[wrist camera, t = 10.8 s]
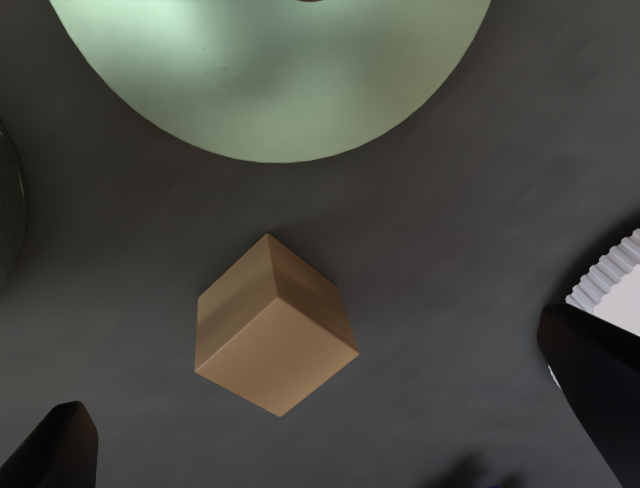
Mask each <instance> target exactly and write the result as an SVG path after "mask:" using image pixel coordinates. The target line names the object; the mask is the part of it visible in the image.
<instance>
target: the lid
mask: <svg viewBox="0 0 640 488" xmlns="http://www.w3.org/2000/svg"><path fill="white" fill-rule="evenodd" d="M49 2H50V4H51V6H52V8H53V9H54V11H55V13H56V15H57V17H58V18H59V20H60V22H61V24H62V26H63V27H64V29H65V31H66V33H67V35H68V36H69V38H70V39H71V40H72V42H73V43H74V45H75V46H76V47H77V49H78V50H79V52H80V53H81V54H82V56H83V57H84V59H85V60H86V61H87V63H88V64H89V65H90V66H91V68H92V69H93V70H94V71H95V72H96V73H97V74H98V75H99V77H100V78H101V79H102V80H103V81H104V82H105V83H106V84H107V86H108V87H109V88H110V89H111V90H112V91H113V92H114V93H116V94H117V95H118V96H119V97H120V98H121V99H122V100H123V101H124V102H126V103H127V104H128V105H129V106H130V107H131V108H132V109H133V110H135V111H136V112H137V113H139V114H140V115H142V116H143V117H144V118H146V119H147V120H149V121H150V122H151V123H153V124H154V125H156V126H157V127H158V128H160V129H162V130H164V131H165V132H167V133H169V134H171V135H173V136H175V137H176V138H178V139H180V140H182V141H184V142H186V143H188V144H191V145H193V146H196V147H198V148H201V149H203V150H206V151H208V152H211V153H215V154H218V155H222V156H225V157H229V158H233V159H238V160H244V161H251V162H258V163H295V162H305V161H313V160H317V159H322V158H326V157H330V156H335V155H338V154H340V153H343V152H346V151H349V150H352V149H354V148H357V147H359V146H362V145H364V144H366V143H368V142H370V141H372V140H374V139H376V138H378V137H380V136H381V135H383V134H384V133H386V132H387V131H389V130H391V129H392V128H394V127H395V126H397V125H398V124H400V123H401V122H403V121H404V120H405V119H406V118H407V117H409V116H410V115H411V114H412V113H413V112H415V111H416V110H417V109H418V108H419V107H421V106H422V105H423V104H424V103H425V102H426V101H427V100H428V99H429V98H430V97H431V96H432V95H433V94H434V93H435V92H436V90H437V89H438V88H439V87H440V86H441V85H442V84H443V83H444V81H445V80H446V79H447V78H448V76H449V75H450V74H451V72H452V71H453V70H454V68H455V67H456V66H457V65H458V63H459V62H460V60H461V59H462V57H463V55H464V54H465V52H466V50H467V49H468V47H469V46H470V44H471V42H472V41H473V39H474V37H475V35H476V33H477V31H478V29H479V27H480V25H481V23H482V21H483V19H484V17H485V15H486V13H487V11H488V8H489V5H490V3H491V0H49Z"/></svg>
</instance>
